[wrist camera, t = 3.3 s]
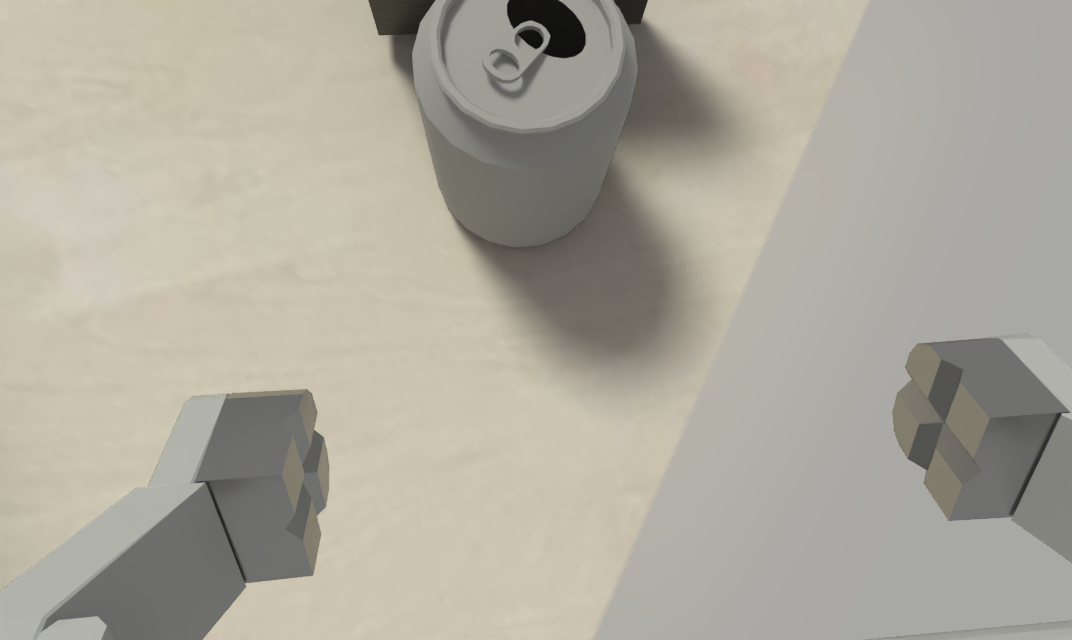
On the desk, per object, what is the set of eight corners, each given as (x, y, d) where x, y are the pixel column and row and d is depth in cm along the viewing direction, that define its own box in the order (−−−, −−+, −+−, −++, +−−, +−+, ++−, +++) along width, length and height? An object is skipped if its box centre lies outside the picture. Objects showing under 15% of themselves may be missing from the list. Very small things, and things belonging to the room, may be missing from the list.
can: (633, 165, 36) (696, 23, 24) (530, 286, 35) (543, 198, 23) (509, 67, 37) (511, -117, 25) (403, 182, 36) (354, 46, 24)
